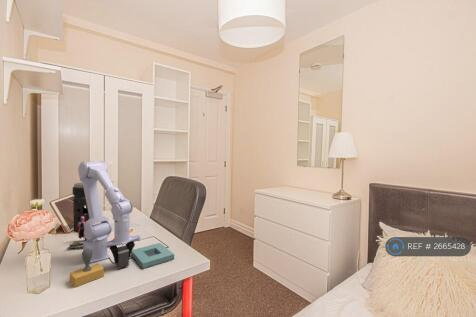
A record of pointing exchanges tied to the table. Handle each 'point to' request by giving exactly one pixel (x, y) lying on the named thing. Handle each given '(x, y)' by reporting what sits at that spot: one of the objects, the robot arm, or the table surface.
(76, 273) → the rubber stamp
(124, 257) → the plug
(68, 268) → the table surface
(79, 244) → the statue
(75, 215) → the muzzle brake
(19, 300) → the table surface
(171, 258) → the outlet block
